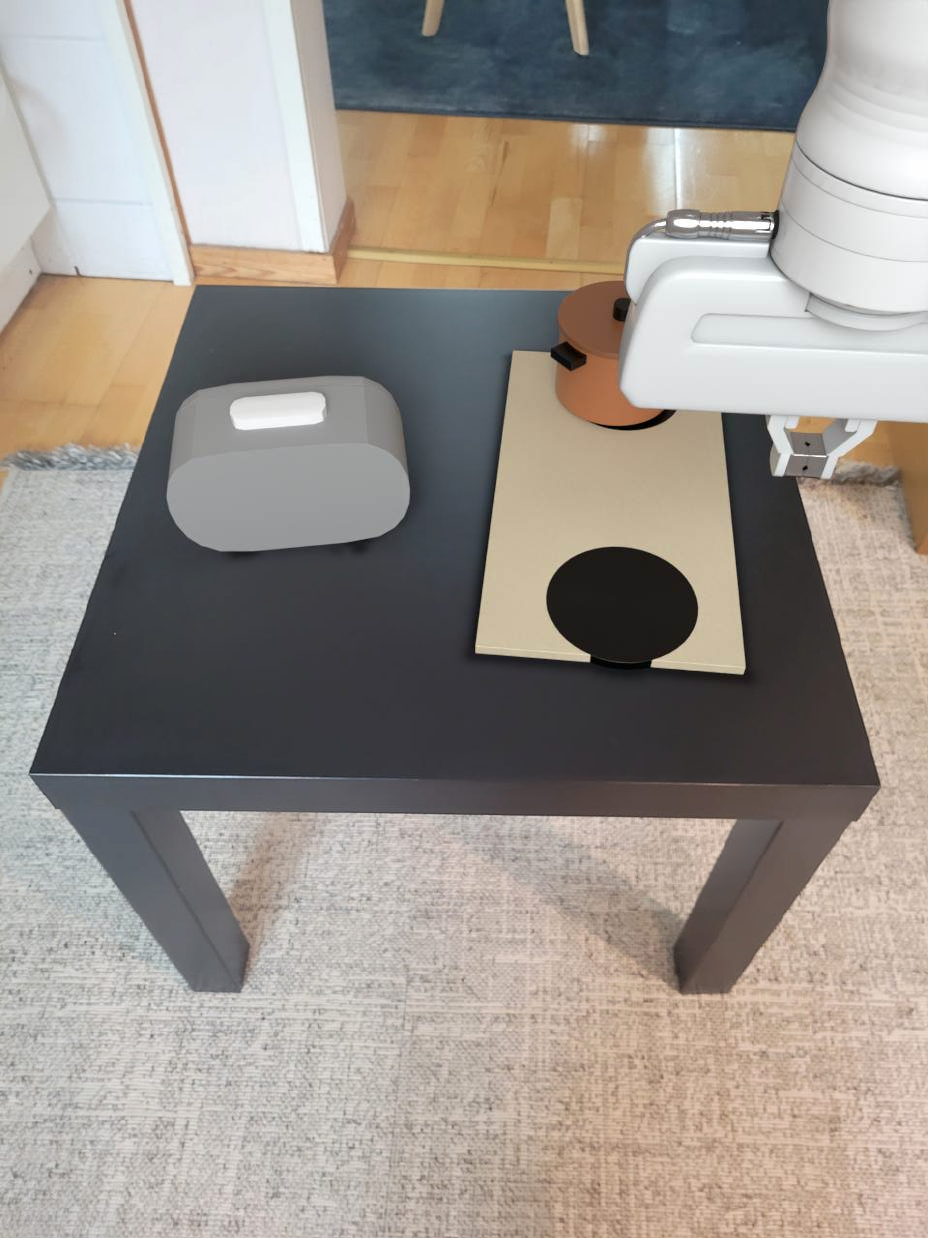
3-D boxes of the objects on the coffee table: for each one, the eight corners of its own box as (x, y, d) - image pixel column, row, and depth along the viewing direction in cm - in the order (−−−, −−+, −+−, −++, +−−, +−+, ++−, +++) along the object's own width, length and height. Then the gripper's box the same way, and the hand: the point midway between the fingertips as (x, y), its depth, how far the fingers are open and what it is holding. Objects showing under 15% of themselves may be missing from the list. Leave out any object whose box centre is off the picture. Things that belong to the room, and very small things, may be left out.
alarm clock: (405, 472, 92) (396, 356, 82) (414, 541, 86) (405, 427, 76) (194, 491, 91) (157, 376, 80) (188, 563, 85) (147, 449, 74)
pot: (625, 338, 104) (638, 248, 96) (708, 394, 98) (730, 303, 89) (516, 392, 98) (519, 302, 90) (597, 455, 92) (609, 365, 84)
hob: (714, 368, 102) (716, 361, 101) (743, 674, 76) (746, 667, 76) (512, 357, 104) (513, 349, 103) (475, 653, 78) (475, 646, 77)
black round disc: (693, 559, 84) (695, 551, 84) (700, 676, 76) (702, 669, 76) (549, 548, 85) (549, 541, 85) (540, 663, 77) (541, 656, 77)
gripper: (633, 247, 37) (599, 499, 48) (1172, 269, 36) (1012, 524, 47) (631, 172, 41) (600, 420, 52) (1117, 188, 40) (981, 441, 50)
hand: (798, 469), depth 49 cm, fingers closed
